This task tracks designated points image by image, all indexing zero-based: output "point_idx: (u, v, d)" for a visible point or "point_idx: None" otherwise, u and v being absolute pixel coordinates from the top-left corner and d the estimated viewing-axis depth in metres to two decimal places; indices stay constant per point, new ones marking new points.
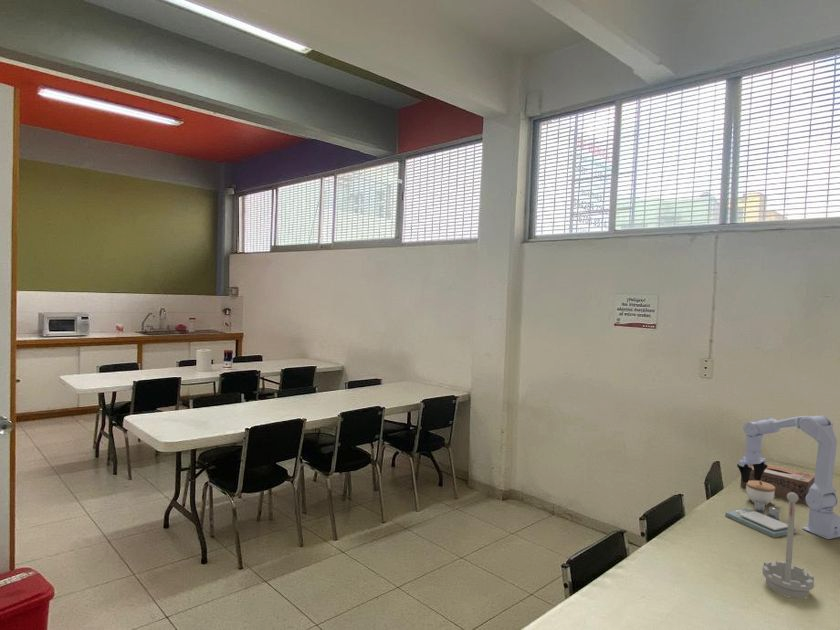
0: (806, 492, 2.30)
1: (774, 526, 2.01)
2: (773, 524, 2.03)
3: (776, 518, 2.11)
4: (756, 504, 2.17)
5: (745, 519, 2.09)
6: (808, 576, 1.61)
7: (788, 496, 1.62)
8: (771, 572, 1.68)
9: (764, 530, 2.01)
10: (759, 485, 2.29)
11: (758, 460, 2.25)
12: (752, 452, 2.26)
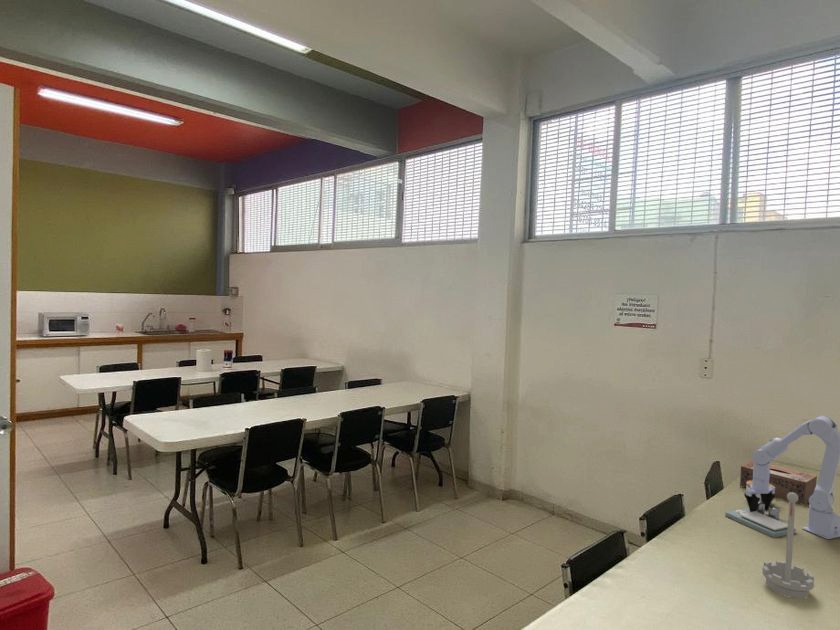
0: (804, 492, 2.30)
1: (774, 526, 2.01)
2: (773, 524, 2.03)
3: (776, 518, 2.11)
4: None
5: (745, 519, 2.09)
6: (808, 576, 1.61)
7: (788, 496, 1.62)
8: (771, 572, 1.68)
9: (764, 530, 2.01)
10: None
11: (766, 490, 2.15)
12: (760, 481, 2.15)
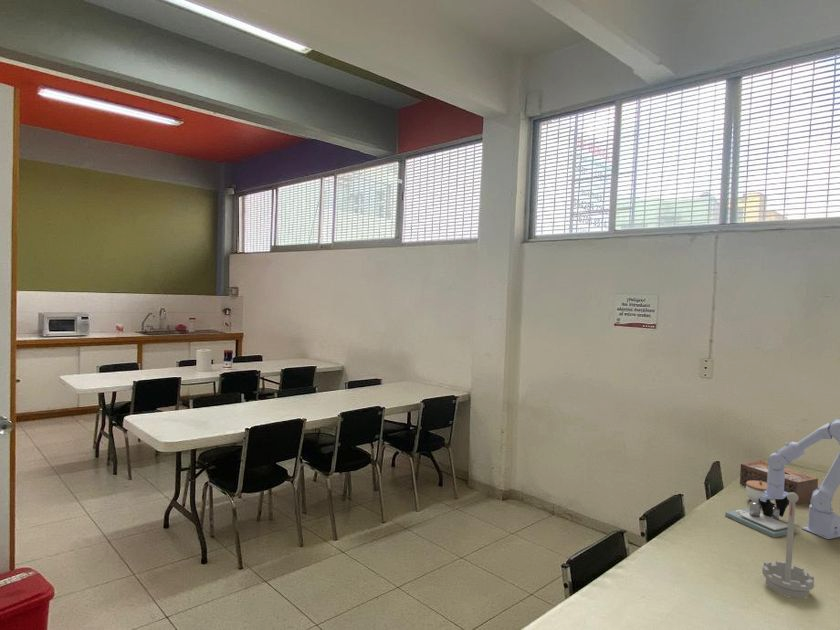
0: (795, 492, 2.30)
1: (774, 526, 2.01)
2: (773, 524, 2.03)
3: (776, 518, 2.11)
4: (751, 505, 2.10)
5: (745, 519, 2.09)
6: (808, 576, 1.61)
7: (788, 496, 1.62)
8: (771, 572, 1.68)
9: (764, 530, 2.01)
10: (759, 485, 2.29)
11: (781, 495, 2.09)
12: (775, 486, 2.10)
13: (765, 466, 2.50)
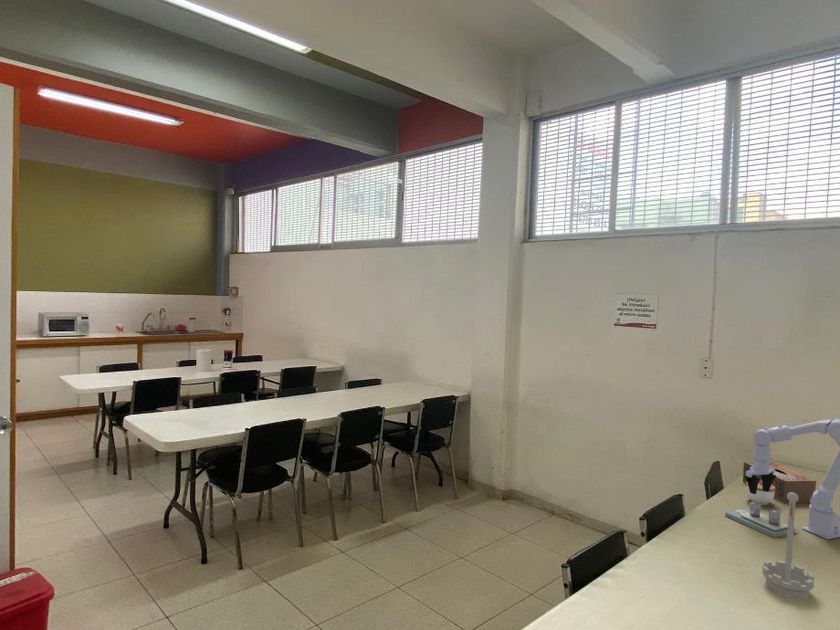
0: (783, 491, 2.31)
1: (774, 526, 2.01)
2: None
3: (776, 521, 2.01)
4: (751, 504, 2.10)
5: (745, 519, 2.09)
6: (808, 576, 1.61)
7: (788, 496, 1.62)
8: (771, 572, 1.68)
9: (764, 530, 2.01)
10: (759, 485, 2.29)
11: (767, 470, 2.13)
12: (760, 462, 2.13)
13: (770, 466, 2.51)
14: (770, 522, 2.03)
